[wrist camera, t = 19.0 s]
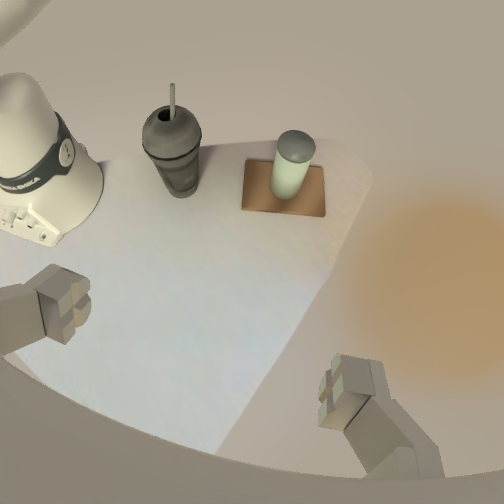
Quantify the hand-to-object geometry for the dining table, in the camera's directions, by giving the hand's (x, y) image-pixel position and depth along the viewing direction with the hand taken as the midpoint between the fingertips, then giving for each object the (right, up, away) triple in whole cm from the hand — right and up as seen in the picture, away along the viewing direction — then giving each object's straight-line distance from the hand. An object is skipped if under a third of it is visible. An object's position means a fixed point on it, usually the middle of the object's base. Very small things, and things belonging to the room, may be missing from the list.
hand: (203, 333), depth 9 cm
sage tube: (+6, +12, +37) cm, 39 cm away
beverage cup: (-9, +12, +37) cm, 40 cm away
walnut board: (+6, +12, +38) cm, 40 cm away
